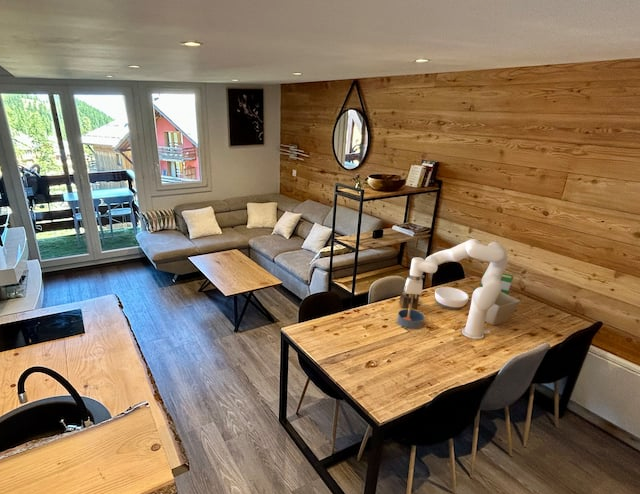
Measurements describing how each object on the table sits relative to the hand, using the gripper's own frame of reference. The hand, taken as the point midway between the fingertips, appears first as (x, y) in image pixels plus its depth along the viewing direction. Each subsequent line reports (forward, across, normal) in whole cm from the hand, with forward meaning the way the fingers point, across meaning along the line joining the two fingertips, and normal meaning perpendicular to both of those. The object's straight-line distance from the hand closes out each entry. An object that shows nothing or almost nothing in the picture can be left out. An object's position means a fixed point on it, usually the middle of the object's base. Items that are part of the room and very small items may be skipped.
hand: (410, 302), depth 250 cm
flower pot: (+15, -58, -10) cm, 60 cm away
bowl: (+15, -37, -30) cm, 50 cm away
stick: (+13, 0, 0) cm, 13 cm away
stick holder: (+15, -6, -24) cm, 29 cm away
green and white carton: (+15, -67, -33) cm, 76 cm away
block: (+14, +2, +3) cm, 14 cm away
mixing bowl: (+15, -1, +1) cm, 15 cm away
